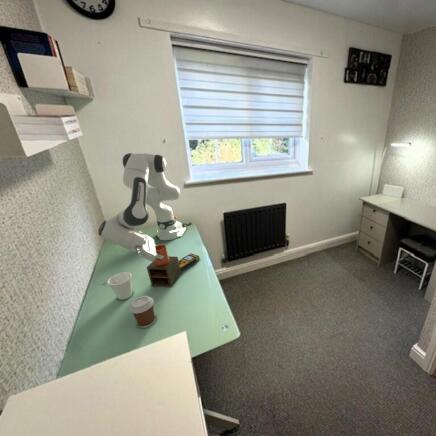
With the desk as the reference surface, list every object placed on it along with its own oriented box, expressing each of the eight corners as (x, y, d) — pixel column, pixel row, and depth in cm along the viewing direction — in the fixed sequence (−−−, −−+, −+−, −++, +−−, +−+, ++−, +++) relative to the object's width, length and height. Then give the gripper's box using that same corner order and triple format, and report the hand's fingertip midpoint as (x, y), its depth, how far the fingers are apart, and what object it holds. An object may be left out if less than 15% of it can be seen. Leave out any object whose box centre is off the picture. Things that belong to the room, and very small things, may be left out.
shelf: (162, 273, 138) (158, 255, 133) (181, 274, 137) (177, 256, 132) (151, 285, 128) (146, 267, 123) (171, 286, 127) (166, 268, 122)
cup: (141, 290, 124) (136, 273, 120) (127, 303, 115) (121, 285, 111) (123, 288, 125) (117, 271, 121) (108, 302, 116) (101, 284, 112)
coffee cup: (147, 332, 100) (140, 311, 95) (130, 327, 103) (122, 306, 98) (163, 316, 108) (157, 296, 104) (147, 312, 111) (140, 292, 106)
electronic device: (170, 269, 141) (168, 265, 140) (190, 256, 154) (189, 252, 153) (179, 273, 138) (178, 268, 136) (200, 260, 151) (199, 255, 149)
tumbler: (160, 258, 131) (156, 244, 127) (171, 258, 130) (168, 244, 127) (153, 265, 125) (149, 250, 121) (165, 265, 124) (161, 251, 121)
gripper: (140, 246, 109) (168, 258, 118) (139, 229, 125) (163, 241, 134) (131, 257, 109) (160, 268, 118) (131, 239, 125) (156, 250, 133)
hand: (162, 253), depth 126 cm, fingers closed on tumbler, 7 cm apart
